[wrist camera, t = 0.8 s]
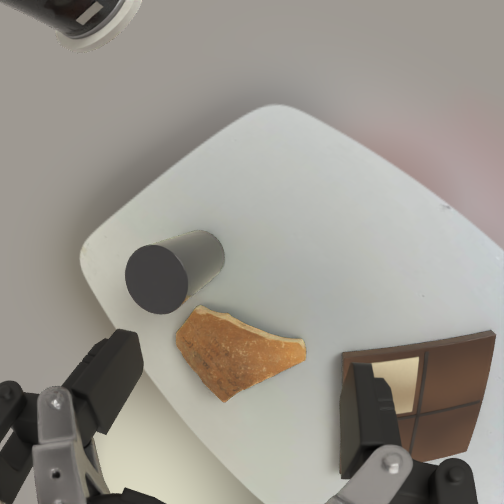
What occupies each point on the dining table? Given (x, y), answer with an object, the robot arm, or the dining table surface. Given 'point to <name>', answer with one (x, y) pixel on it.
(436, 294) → the dining table surface
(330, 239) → the dining table surface
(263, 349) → the pottery shard
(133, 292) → the dark grey cylinder
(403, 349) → the board
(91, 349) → the robot arm
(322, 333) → the dining table surface
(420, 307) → the dining table surface
